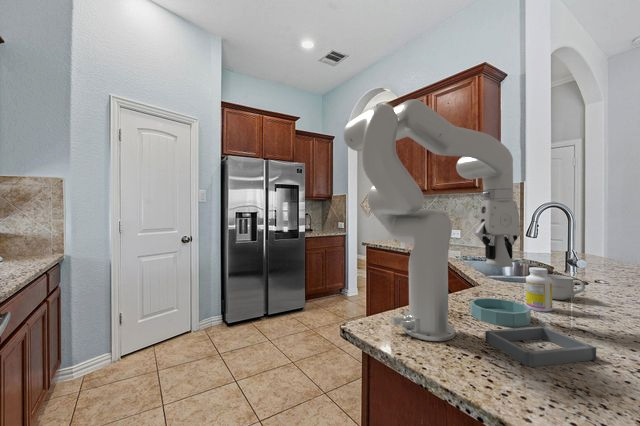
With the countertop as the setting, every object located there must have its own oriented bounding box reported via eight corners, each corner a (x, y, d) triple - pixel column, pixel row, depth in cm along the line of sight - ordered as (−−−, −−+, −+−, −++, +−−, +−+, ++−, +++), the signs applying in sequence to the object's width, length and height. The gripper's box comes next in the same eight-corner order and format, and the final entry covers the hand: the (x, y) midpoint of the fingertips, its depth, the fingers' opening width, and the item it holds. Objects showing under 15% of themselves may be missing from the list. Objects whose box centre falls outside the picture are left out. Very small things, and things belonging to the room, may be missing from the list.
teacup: (528, 295, 109) (528, 273, 109) (549, 292, 113) (549, 271, 113) (570, 306, 96) (570, 281, 96) (593, 303, 99) (592, 279, 99)
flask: (518, 268, 82) (518, 232, 82) (489, 267, 83) (489, 232, 83) (507, 263, 89) (507, 230, 89) (481, 263, 90) (481, 230, 90)
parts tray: (529, 367, 58) (529, 354, 58) (485, 341, 70) (485, 330, 70) (596, 359, 61) (596, 347, 61) (542, 336, 73) (542, 326, 73)
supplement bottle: (541, 305, 97) (540, 266, 97) (558, 312, 90) (557, 270, 90) (521, 305, 97) (520, 266, 97) (536, 312, 90) (536, 270, 90)
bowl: (496, 328, 78) (495, 314, 78) (460, 310, 92) (460, 299, 92) (543, 324, 80) (542, 311, 80) (501, 307, 95) (501, 296, 95)
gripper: (481, 195, 81) (481, 261, 81) (534, 195, 84) (535, 259, 84) (463, 197, 89) (464, 257, 88) (513, 197, 91) (513, 255, 91)
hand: (498, 257), depth 86 cm, fingers closed on flask, 4 cm apart
